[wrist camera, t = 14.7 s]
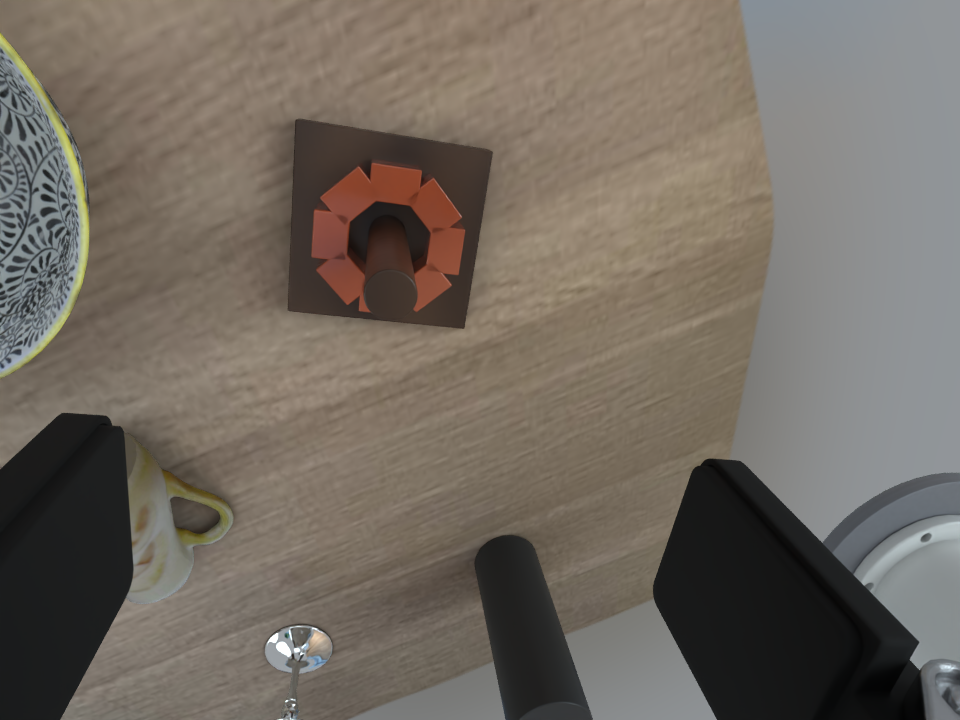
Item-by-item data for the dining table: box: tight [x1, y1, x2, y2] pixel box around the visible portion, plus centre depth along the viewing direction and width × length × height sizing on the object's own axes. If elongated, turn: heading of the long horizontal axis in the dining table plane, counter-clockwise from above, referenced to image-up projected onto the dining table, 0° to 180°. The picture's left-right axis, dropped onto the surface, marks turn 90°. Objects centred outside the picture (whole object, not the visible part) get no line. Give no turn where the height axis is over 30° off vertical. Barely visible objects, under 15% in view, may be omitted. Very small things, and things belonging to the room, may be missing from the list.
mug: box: [124, 433, 234, 604], centre depth 31 cm, size 8×10×10 cm
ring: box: [311, 159, 465, 312], centre depth 28 cm, size 7×7×2 cm
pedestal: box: [475, 536, 593, 720], centre depth 34 cm, size 4×4×12 cm
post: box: [288, 119, 493, 329], centre depth 25 cm, size 9×9×11 cm
